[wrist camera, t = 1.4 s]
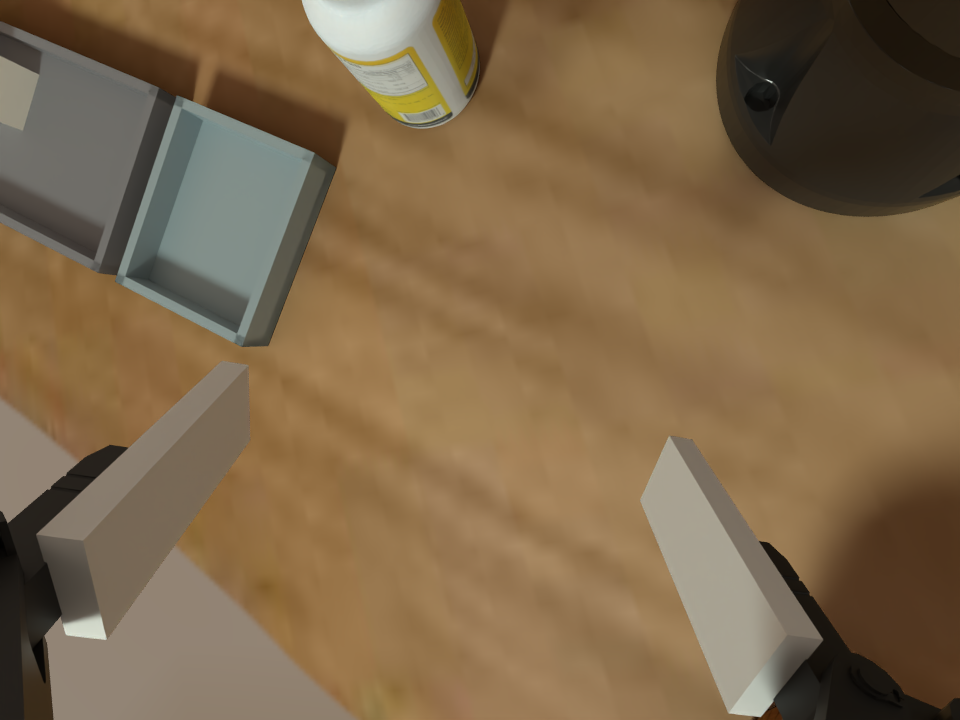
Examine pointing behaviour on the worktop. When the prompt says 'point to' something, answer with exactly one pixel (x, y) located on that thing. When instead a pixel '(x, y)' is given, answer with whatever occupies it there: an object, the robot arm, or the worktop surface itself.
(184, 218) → the slate tray
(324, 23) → the pill bottle
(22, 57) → the charcoal tray
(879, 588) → the worktop surface
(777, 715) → the disposable coffee cup
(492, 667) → the worktop surface
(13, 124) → the letter cube
